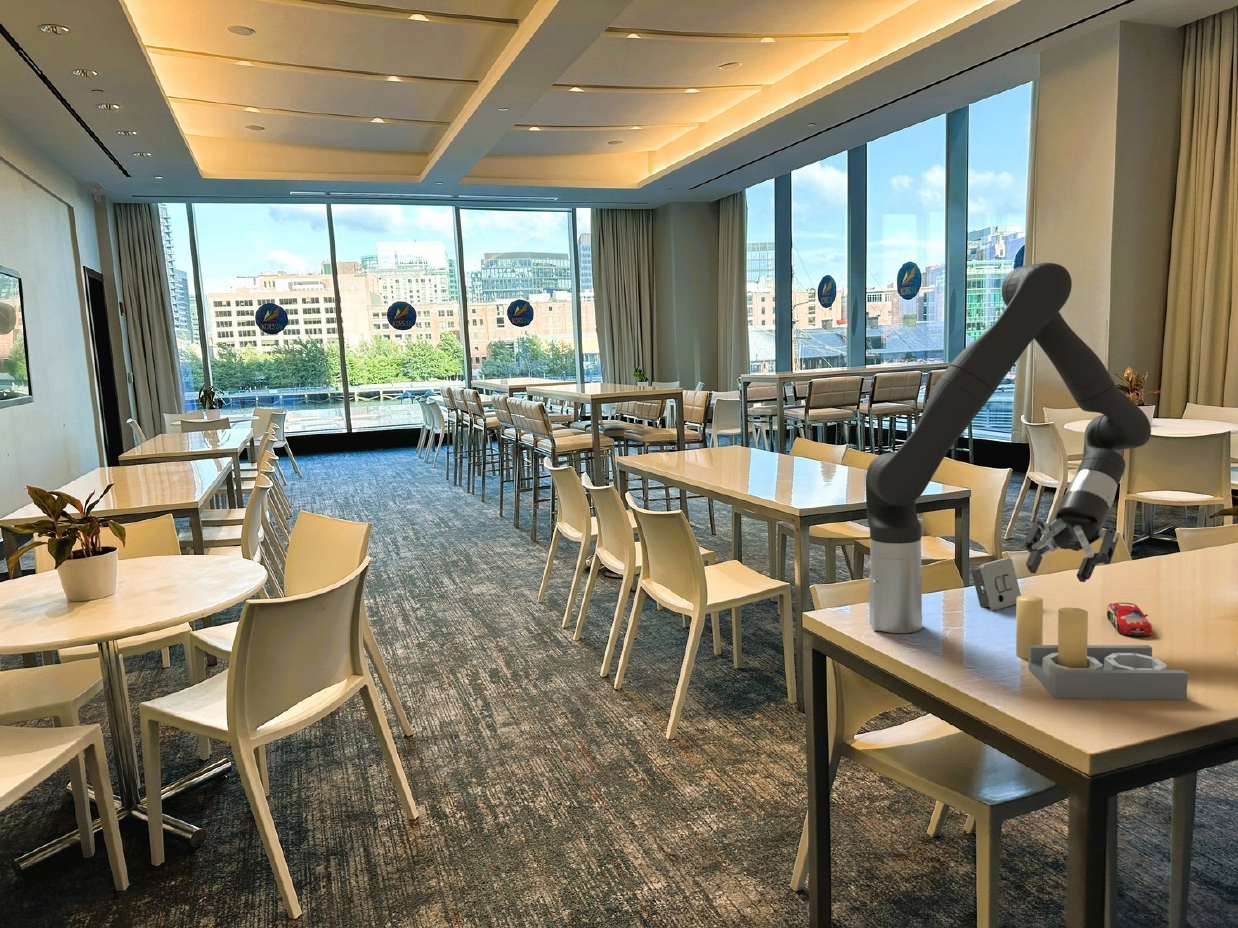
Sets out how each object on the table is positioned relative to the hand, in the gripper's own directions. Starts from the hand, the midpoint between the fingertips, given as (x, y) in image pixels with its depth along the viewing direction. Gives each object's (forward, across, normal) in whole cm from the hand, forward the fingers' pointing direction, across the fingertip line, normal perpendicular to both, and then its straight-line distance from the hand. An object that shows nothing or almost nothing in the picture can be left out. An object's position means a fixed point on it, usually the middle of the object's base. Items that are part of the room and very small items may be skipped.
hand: (1055, 575), depth 146 cm
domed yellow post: (+15, 0, +3) cm, 15 cm away
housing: (+17, +13, 0) cm, 22 cm away
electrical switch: (-2, -19, +19) cm, 27 cm away
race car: (-4, +4, +22) cm, 23 cm away
